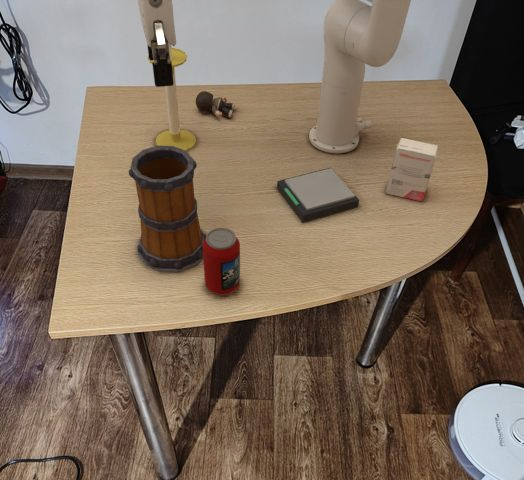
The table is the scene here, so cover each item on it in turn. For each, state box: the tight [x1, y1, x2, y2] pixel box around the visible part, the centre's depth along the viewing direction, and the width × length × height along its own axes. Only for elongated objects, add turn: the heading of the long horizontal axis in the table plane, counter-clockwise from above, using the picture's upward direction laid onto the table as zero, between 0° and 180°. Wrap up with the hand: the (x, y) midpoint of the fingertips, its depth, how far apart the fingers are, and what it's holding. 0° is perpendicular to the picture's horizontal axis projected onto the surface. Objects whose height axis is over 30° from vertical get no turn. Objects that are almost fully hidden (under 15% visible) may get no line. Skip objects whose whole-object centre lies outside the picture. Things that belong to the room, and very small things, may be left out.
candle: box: [147, 43, 197, 152], centre depth 122 cm, size 10×10×38 cm
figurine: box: [195, 90, 236, 119], centre depth 144 cm, size 8×5×10 cm
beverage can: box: [202, 227, 241, 295], centre depth 103 cm, size 7×7×12 cm
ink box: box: [385, 137, 439, 202], centre depth 123 cm, size 9×5×12 cm, turn 71°
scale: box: [276, 167, 360, 223], centre depth 124 cm, size 14×13×3 cm
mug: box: [128, 145, 207, 273], centre depth 107 cm, size 19×14×20 cm
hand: (161, 72), depth 99 cm, fingers open, 9 cm apart
